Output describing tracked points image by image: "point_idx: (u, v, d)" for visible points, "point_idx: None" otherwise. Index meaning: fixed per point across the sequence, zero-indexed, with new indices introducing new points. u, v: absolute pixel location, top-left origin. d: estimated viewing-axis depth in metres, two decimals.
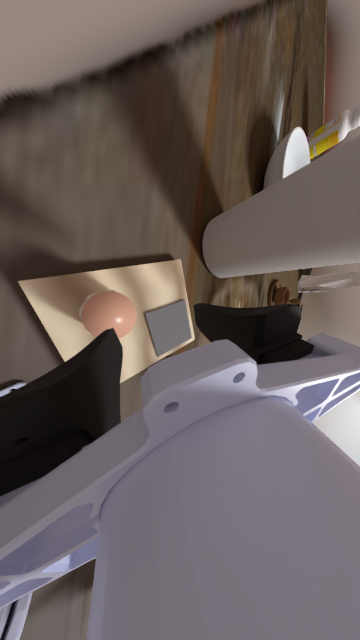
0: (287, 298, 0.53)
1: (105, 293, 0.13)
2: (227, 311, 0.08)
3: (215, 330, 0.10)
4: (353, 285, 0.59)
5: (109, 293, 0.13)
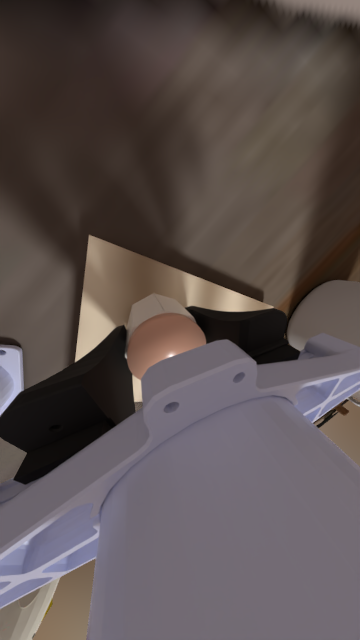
0: None
1: (185, 322, 0.08)
2: (215, 315, 0.08)
3: (205, 334, 0.09)
4: None
5: (189, 324, 0.08)
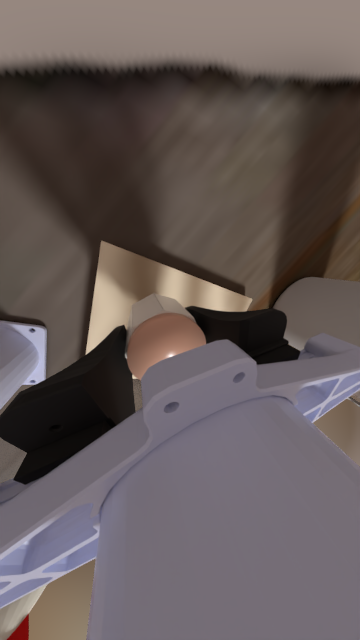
0: None
1: (185, 322, 0.08)
2: (215, 315, 0.08)
3: (204, 334, 0.09)
4: None
5: (189, 324, 0.08)
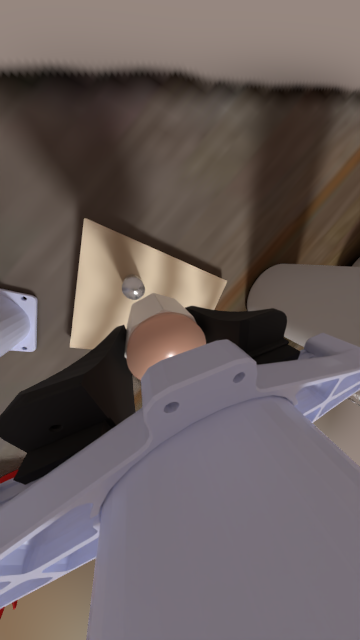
0: None
1: (185, 321, 0.07)
2: (215, 315, 0.08)
3: (205, 334, 0.09)
4: None
5: (189, 324, 0.08)
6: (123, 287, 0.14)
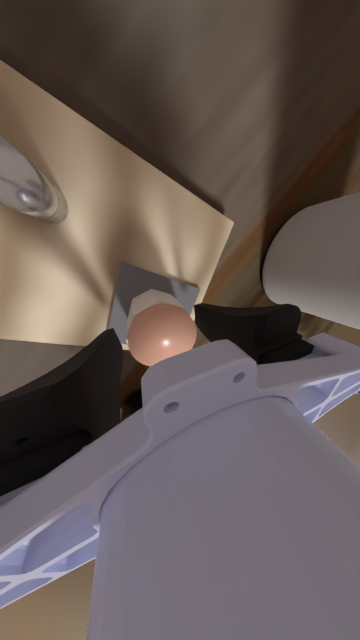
0: None
1: (177, 311, 0.09)
2: (227, 311, 0.08)
3: (215, 330, 0.10)
4: None
5: (181, 313, 0.09)
6: None
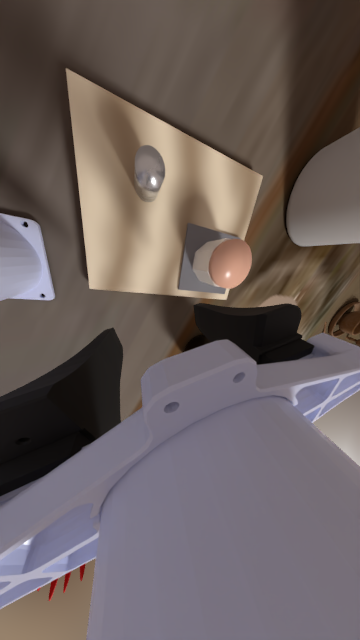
0: (359, 330, 0.40)
1: (240, 241, 0.13)
2: (227, 311, 0.08)
3: (215, 330, 0.10)
4: None
5: (243, 243, 0.14)
6: (137, 163, 0.10)
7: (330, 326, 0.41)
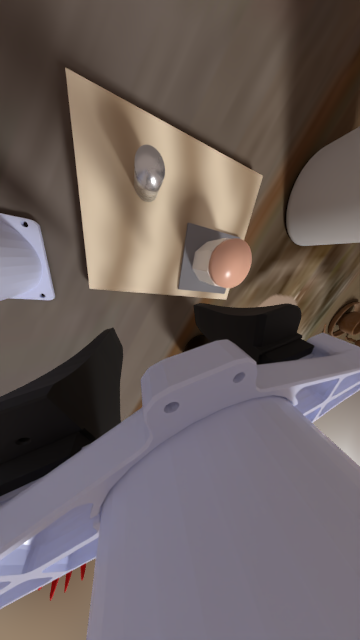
0: (358, 330, 0.40)
1: (240, 241, 0.13)
2: (227, 311, 0.08)
3: (215, 330, 0.10)
4: None
5: (243, 242, 0.14)
6: (136, 163, 0.10)
7: (330, 326, 0.41)
